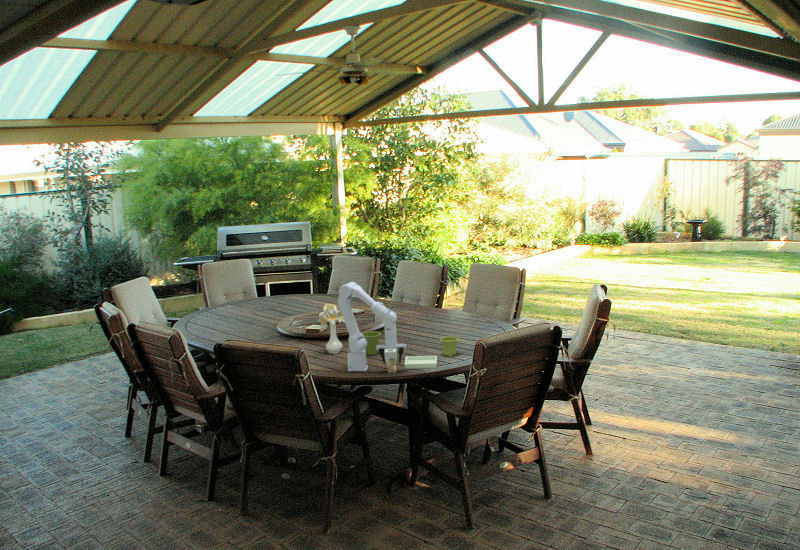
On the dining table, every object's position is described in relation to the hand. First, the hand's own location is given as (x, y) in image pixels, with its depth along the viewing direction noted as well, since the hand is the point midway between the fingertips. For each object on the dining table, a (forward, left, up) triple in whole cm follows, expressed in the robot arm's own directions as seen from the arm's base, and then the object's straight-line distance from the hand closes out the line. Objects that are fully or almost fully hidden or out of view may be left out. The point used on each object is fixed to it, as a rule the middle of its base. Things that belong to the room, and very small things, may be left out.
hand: (392, 363), depth 310 cm
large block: (-2, +17, -4) cm, 18 cm away
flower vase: (-35, +37, -4) cm, 51 cm away
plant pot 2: (+29, +27, -4) cm, 40 cm away
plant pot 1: (-14, +33, -4) cm, 36 cm away
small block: (0, 0, -4) cm, 4 cm away
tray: (+14, +10, -4) cm, 18 cm away
